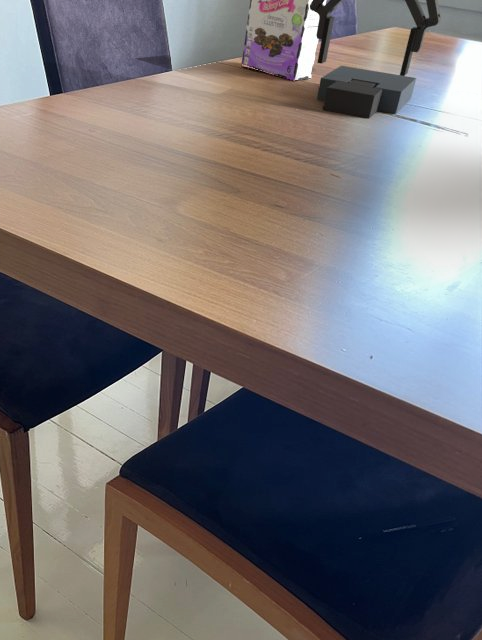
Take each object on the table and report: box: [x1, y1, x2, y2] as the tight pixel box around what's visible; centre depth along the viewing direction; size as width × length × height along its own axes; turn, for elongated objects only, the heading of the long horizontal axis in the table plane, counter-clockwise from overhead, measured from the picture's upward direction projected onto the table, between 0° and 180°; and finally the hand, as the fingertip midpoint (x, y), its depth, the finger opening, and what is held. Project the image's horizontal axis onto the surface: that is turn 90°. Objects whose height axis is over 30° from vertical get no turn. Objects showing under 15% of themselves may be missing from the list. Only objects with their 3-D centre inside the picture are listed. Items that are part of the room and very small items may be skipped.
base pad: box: [316, 65, 417, 115], centre depth 131 cm, size 14×14×4 cm
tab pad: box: [322, 80, 382, 119], centre depth 124 cm, size 8×10×4 cm
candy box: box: [241, 0, 327, 82], centre depth 139 cm, size 14×6×16 cm, turn 43°
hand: (361, 68), depth 120 cm, fingers open, 13 cm apart
